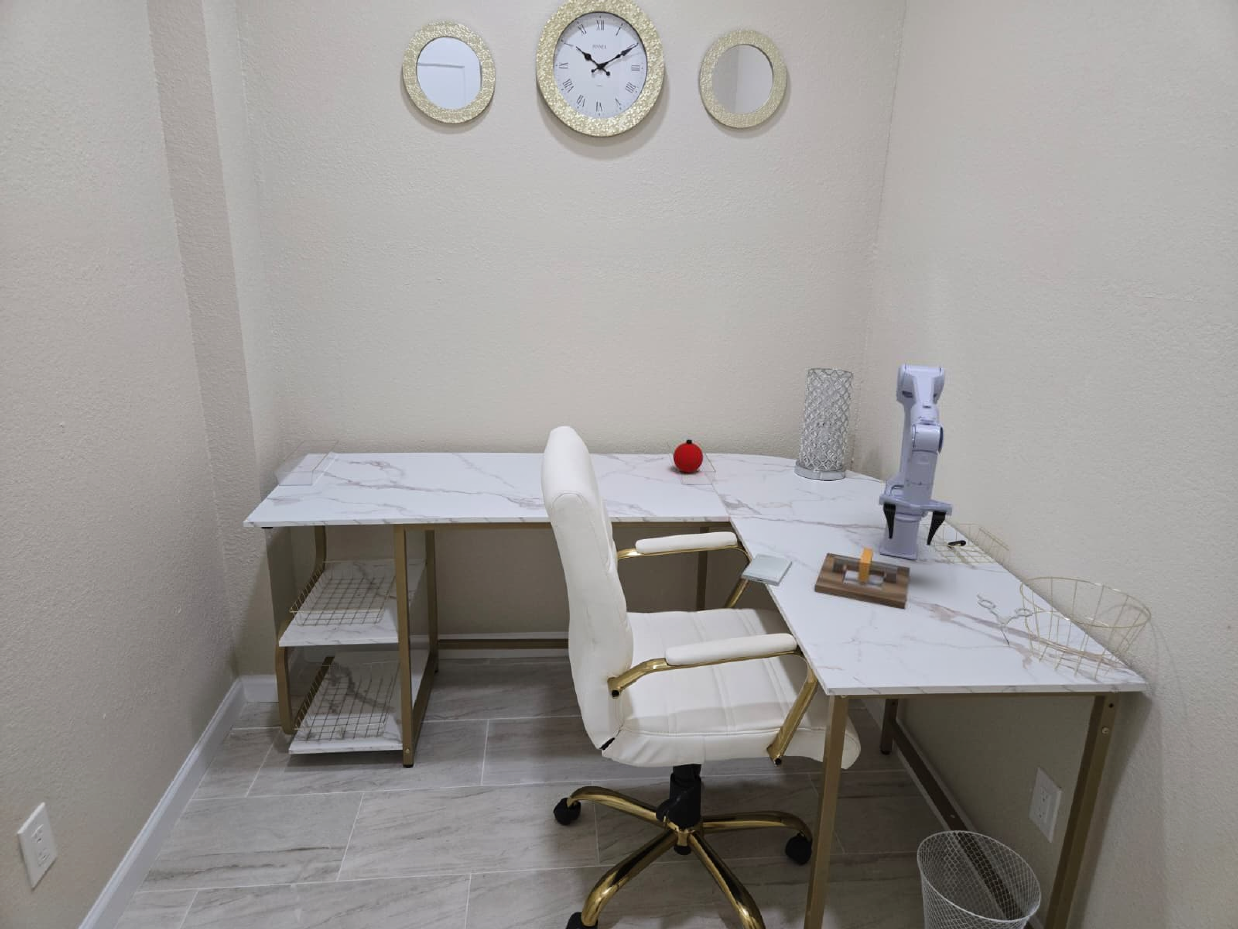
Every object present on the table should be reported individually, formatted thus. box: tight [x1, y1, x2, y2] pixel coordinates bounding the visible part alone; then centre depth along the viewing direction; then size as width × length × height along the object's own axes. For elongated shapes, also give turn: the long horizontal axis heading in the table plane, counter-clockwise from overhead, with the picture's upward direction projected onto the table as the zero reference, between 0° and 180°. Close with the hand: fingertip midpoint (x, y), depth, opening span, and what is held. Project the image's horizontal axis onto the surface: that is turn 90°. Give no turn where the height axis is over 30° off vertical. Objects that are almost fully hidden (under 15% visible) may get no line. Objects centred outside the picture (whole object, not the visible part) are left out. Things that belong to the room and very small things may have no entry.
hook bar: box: [833, 556, 898, 584], centre depth 170 cm, size 2×13×3 cm, turn 68°
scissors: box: [976, 594, 1033, 637], centre depth 157 cm, size 11×1×20 cm
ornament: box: [672, 438, 704, 473], centre depth 238 cm, size 9×9×10 cm
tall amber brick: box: [857, 547, 874, 583], centre depth 170 cm, size 8×2×4 cm, turn 158°
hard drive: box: [740, 553, 793, 587], centre depth 175 cm, size 2×8×12 cm
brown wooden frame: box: [814, 552, 911, 610], centre depth 171 cm, size 18×18×2 cm
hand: (909, 540), depth 170 cm, fingers open, 7 cm apart
